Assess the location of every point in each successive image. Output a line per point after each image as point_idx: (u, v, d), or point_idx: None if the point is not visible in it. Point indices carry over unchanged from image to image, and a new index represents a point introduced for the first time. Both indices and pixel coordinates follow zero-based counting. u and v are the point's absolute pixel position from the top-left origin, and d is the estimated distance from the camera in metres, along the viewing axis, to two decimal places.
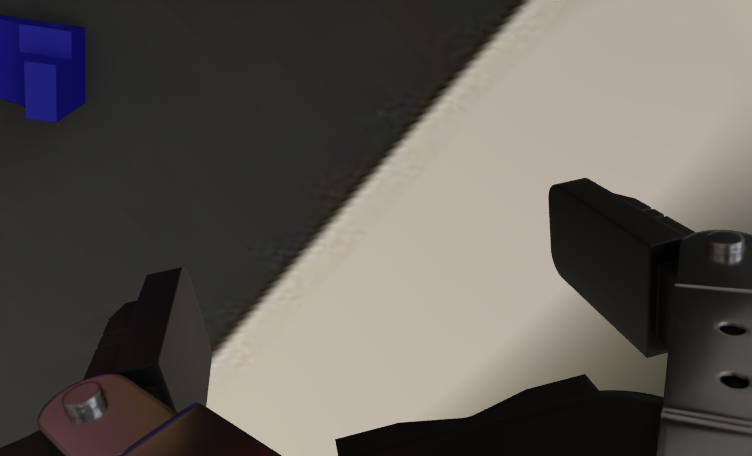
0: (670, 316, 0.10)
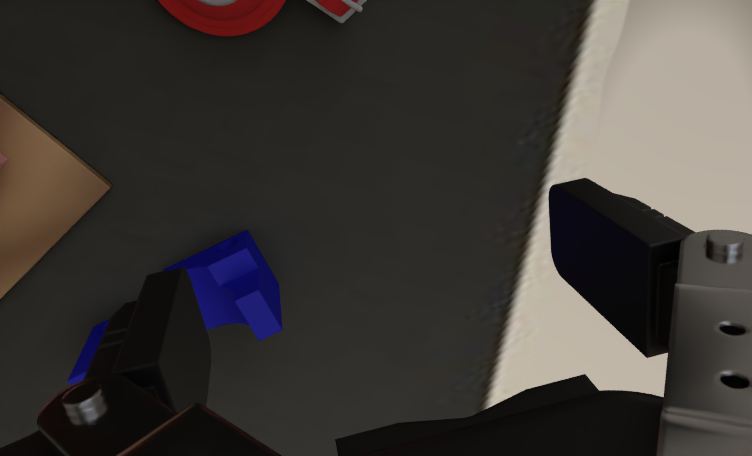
0: (670, 316, 0.10)
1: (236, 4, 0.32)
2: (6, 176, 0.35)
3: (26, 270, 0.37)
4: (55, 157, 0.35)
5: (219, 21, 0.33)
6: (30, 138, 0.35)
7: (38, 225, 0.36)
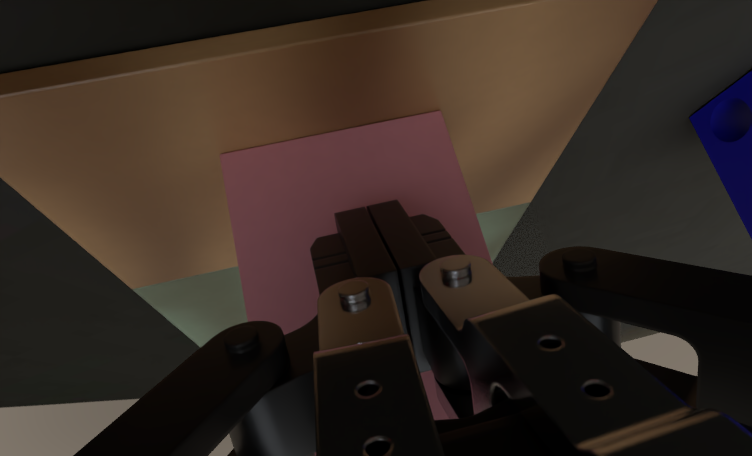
0: (424, 335, 0.11)
1: None
2: (459, 102, 0.16)
3: (563, 148, 0.21)
4: (527, 24, 0.14)
5: None
6: (458, 38, 0.14)
7: (552, 108, 0.18)
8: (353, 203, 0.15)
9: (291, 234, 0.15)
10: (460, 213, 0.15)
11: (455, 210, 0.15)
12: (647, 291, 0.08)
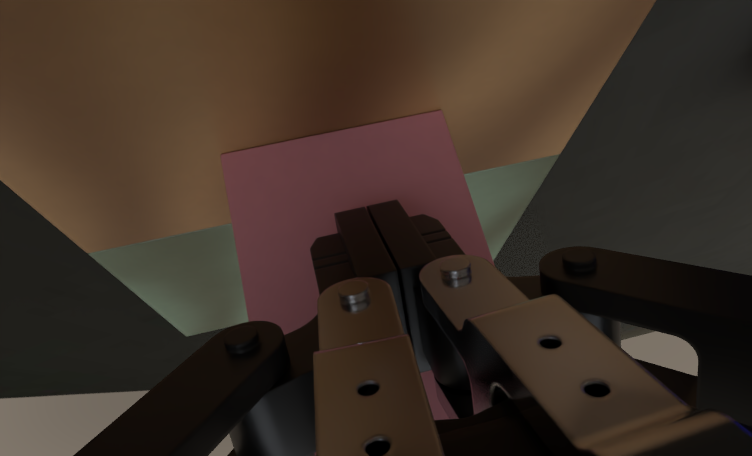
0: (424, 335, 0.11)
1: None
2: None
3: (607, 76, 0.17)
4: None
5: None
6: None
7: (601, 11, 0.14)
8: (354, 203, 0.15)
9: (291, 234, 0.15)
10: (461, 213, 0.15)
11: (456, 210, 0.15)
12: (647, 291, 0.08)
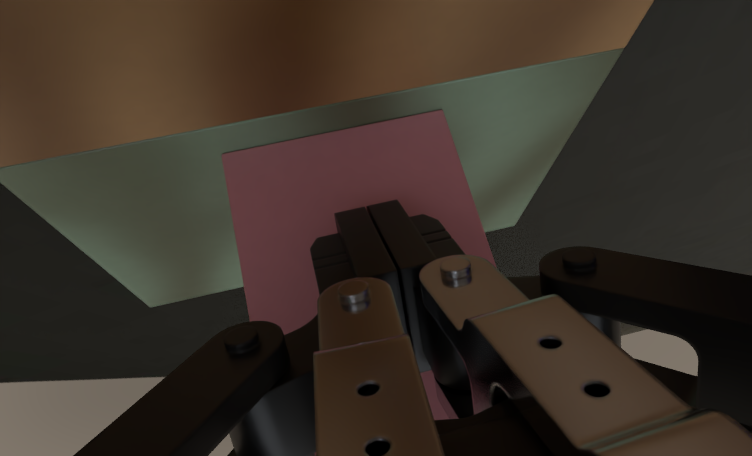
0: (424, 335, 0.11)
1: None
2: None
3: None
4: None
5: None
6: None
7: None
8: (354, 203, 0.15)
9: (293, 233, 0.15)
10: (462, 212, 0.15)
11: (457, 209, 0.15)
12: (647, 291, 0.08)
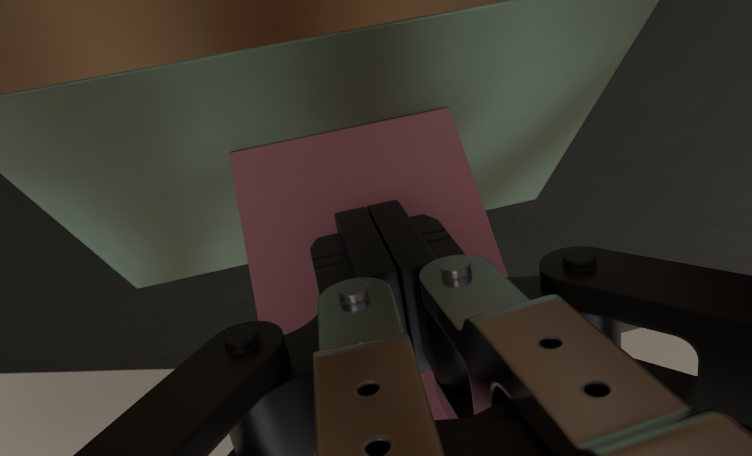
0: (424, 335, 0.11)
1: None
2: None
3: None
4: None
5: None
6: None
7: None
8: (362, 200, 0.15)
9: (300, 231, 0.15)
10: (469, 210, 0.15)
11: (464, 207, 0.15)
12: (647, 291, 0.08)
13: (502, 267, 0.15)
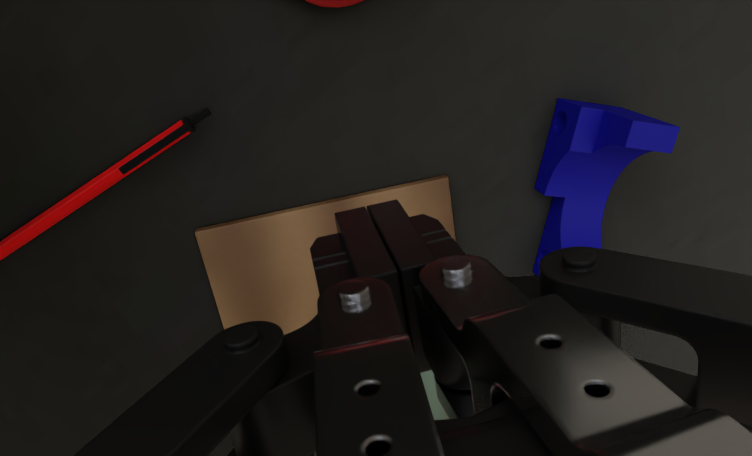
0: (424, 335, 0.11)
1: None
2: None
3: None
4: (399, 198, 0.38)
5: None
6: None
7: None
8: None
9: None
10: None
11: None
12: (647, 291, 0.08)
13: None
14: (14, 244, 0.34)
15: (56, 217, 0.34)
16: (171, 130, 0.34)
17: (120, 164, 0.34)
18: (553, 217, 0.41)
